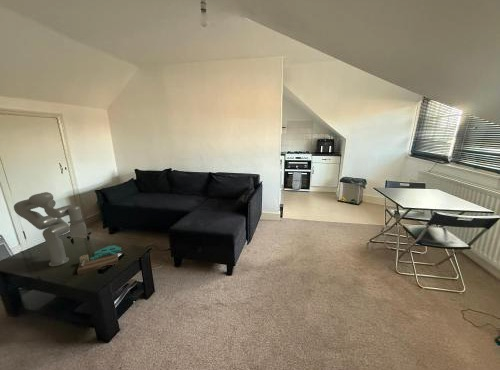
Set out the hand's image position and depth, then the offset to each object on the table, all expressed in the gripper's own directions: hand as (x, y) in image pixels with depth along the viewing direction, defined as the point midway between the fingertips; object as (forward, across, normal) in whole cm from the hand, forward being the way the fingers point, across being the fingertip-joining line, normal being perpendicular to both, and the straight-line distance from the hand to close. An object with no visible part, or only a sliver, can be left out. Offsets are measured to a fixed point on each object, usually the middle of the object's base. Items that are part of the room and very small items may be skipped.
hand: (80, 241), depth 168 cm
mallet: (+20, 0, -5) cm, 21 cm away
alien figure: (+21, +15, +12) cm, 28 cm away
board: (+20, +10, -8) cm, 24 cm away
